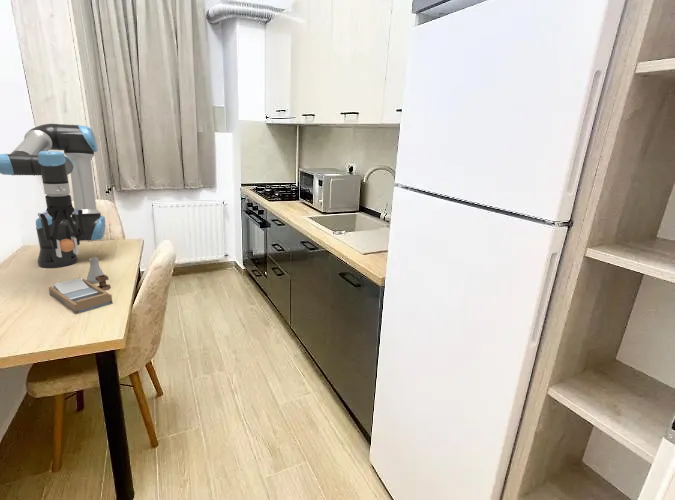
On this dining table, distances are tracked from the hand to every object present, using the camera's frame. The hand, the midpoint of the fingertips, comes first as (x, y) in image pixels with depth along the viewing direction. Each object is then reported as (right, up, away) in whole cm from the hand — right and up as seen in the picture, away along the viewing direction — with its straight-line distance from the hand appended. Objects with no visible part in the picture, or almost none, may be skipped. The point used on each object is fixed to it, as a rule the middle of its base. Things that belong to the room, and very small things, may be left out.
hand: (67, 254), depth 138 cm
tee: (+8, -14, +9) cm, 18 cm away
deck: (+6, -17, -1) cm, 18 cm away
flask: (0, -12, +17) cm, 20 cm away
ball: (0, +4, -1) cm, 4 cm away
